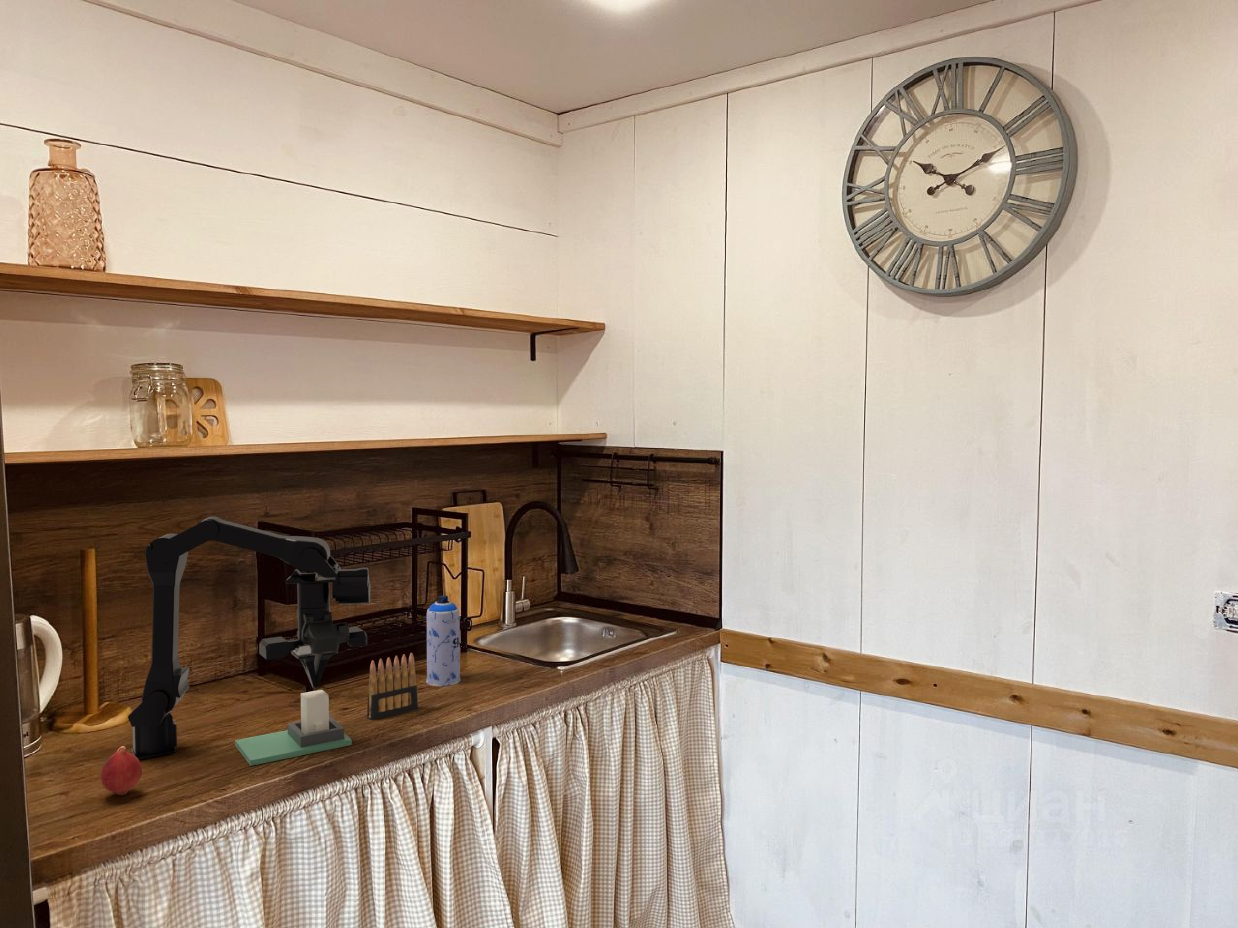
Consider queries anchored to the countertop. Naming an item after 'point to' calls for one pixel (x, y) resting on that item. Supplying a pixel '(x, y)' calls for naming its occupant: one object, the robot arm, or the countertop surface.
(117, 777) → the onion
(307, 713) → the plug
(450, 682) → the aerosol can
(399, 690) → the ammunition clip
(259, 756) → the board
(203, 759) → the countertop surface
